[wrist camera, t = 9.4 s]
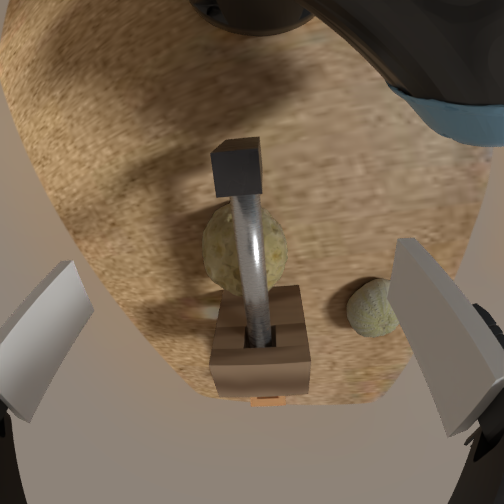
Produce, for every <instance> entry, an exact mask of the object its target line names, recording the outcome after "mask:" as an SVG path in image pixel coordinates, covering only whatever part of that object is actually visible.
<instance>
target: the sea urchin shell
mask: <svg viewBox="0 0 504 504" xmlns="http://www.w3.org/2000/svg"><path fill="white" fill-rule="evenodd" d="M389 285H390V280H385V279H375V280H372V281H371V282H369V283H367V284H365V285H364V286H363V287H361V288H360V289H358V290H357V291H355V293H354V294H353V295H352V297H351V298H350V299H349V300H348V303H347V306H346V307H347V318H348V320H349V322H350V324H351V326H352V328H353V329H354V330H355V331H356V332H357V333H358V334H360V335H362V336H364V337H373V338H374V337H378V336H382V335H385V334H387V333H390V332H392V331H393V330H395V328H396V327H397V325H399V324H400V323H399V321H398V319H397V317H396V315H395V313H394V311H393V309H392V307H391V305H390V304H389V302H388V300H387V295H388V290H389Z"/></svg>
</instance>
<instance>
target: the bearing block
mask: <svg viewBox="0 0 504 504" xmlns="http://www.w3.org/2000/svg"><path fill="white" fill-rule="evenodd" d="M268 298H269V311H270V325H271V338H272V347H266V348H250V342H249V335H248V328H247V322H246V315H245V308H244V301H243V296H241V297H240V296H236V295H234V294H232V293H231V292H229V291H227V290H223V294H222V299H221V304H220V309H219V315H218V320H217V325H216V330H215V335H214V341H213V346H212V351H211V356H210V362H209V367H210V371H211V374H212V377H213V380H214V383H215V386H216V389H217V392H218V395H219V397H272V396H290V395H303V394H308V391H309V380H310V369H311V357H310V351H309V344H308V337H307V331H306V325H305V318H304V312H303V306H302V300H301V294H300V288H299V285H296V286H281V287H272V288H271V289H270V290H269V291H268Z"/></svg>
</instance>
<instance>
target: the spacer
mask: <svg viewBox="0 0 504 504" xmlns="http://www.w3.org/2000/svg"><path fill="white" fill-rule="evenodd" d="M250 399H251V407H253V406H282V405H286V400H285V396H272V397H250Z"/></svg>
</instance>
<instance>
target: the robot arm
mask: <svg viewBox="0 0 504 504" xmlns="http://www.w3.org/2000/svg"><path fill="white" fill-rule="evenodd" d="M189 1H190V3H191V4H192V6H193V7H194V8H195V10H196V11H197V12H198V13H199V15H200V16H201V17H203V18H204V19H205V20H206V21H208V22H209V23H211V24H212V25H214V26H216V27H218V28H221V29H223V30H226V31H229V32H232V33H236V34H242V35H250V36H266V35H274V34H280V33H284V32H287V31H291V30H293V29H296V28H298V27H300V26H302V25H304V24H305V23H307V22H308V21H310V20H311V19H312V18H313V17H315V16H316V17H317V18H319V19H320V20H321V21H323V22H324V23H325V24H326V25H328V26H329V27H330V28H331V29H333V30H334V31H335V32H336V33H337V34H339V35H340V36H341V37H342V38H343V39H344V40H346V41H347V42H348V43H349V44H350V45H351V46H352V47H353V48H354V49H355V50H356V51H358V52H359V53H360V54H361V55H362V56H363V57H364V58H365V59H366V60H367V61H368V62H369V63H370V64H371V65H372V66H373V67H374V68H375V69H376V70H377V71H378V73H379V74H380V75H381V76H382V77H383V78H384V79H385V81H386V83H387V84H388V86H389V88H390V89H391V90H392V91H393V92H394V93H395V94H397V95H398V96H400V97H401V98H403V99H404V100H405V101H406V102H407V103H408V104H409V105H410V106H411V107H412V108H413V109H414V111H415V112H416V113H417V114H418V115H419V116H420V118H421V119H422V120H423V121H424V122H425V123H426V124H427V125H428V126H429V127H430V128H431V129H432V130H434V131H435V132H437V133H438V134H440V135H441V136H444V137H447V138H452V139H453V140H455V141H457V142H459V143H462V144H467V145H472V146H481V147H502V146H504V0H189ZM387 300H388V302H389V304H390V305H391V307H392V309H393V311H394V313H395V315H396V317H397V319H398V321H399V323H400V325H401V327H402V329H403V331H404V333H405V335H406V337H407V340H408V342H409V344H410V346H411V348H412V350H413V352H414V355H415V357H416V359H417V361H418V363H419V366H420V368H421V370H422V373H423V375H424V377H425V380H426V382H427V384H428V387H429V389H430V391H431V394H432V397H433V399H434V402H435V404H436V407H437V410H438V412H439V415H440V418H441V420H442V423H443V426H444V429H445V432H446V435H447V437H451V436H453V435H456V434H458V433H461V432H463V431H466V430H468V429H469V428H470V427H471V426H472V424H473V423H474V422H475V421H476V420H477V419H478V421H479V424H480V427H479V428H478V429H477V430H476V431H475V432H474V433H473V434H472V435H471V436H470V437H469V438H468V439H467V440H466V442H465V443H464V445H468V444H469V443H470V442H471V441H472V440H473V439H474V440H473V443H472V445H471V446H470V447H471V449H470V452H469V455H468V458H467V460H466V463H465V466H464V468H463V471H462V473H461V476H460V478H459V480H458V483H457V485H456V487H455V490H454V492H453V494H452V496H451V498H450V500H449V502H448V504H504V335H503V332H502V330H501V329H500V327H499V326H497V325H496V322H495V321H494V319H493V318H492V317H491V315H490V314H489V313H488V312H487V311H486V310H485V309H483V308H482V307H481V306H479V305H478V304H471V303H470V302H469V300H468V299H467V298H466V296H465V295H464V294H463V293H462V291H461V290H460V289H459V288H458V286H457V285H456V284H455V283H454V281H453V280H452V279H451V278H450V277H449V276H448V274H447V273H446V272H445V271H444V270H443V268H442V267H441V266H440V265H439V264H438V263H437V262H436V261H435V259H434V258H433V257H432V256H431V255H430V254H429V253H428V252H427V251H426V249H425V248H424V247H423V246H422V245H421V244H420V243H419V242H418V241H417V240H416V239H415V238H400V239H397V245H396V251H395V258H394V264H393V269H392V275H391V280H390V285H389V290H388V295H387ZM93 312H94V309H93V307H92V304H91V302H90V300H89V298H88V295H87V293H86V291H85V289H84V287H83V284H82V282H81V279H80V277H79V275H78V272H77V269H76V267H75V264H74V262H73V260H69V261H61V262H60V263H59V264H58V265H57V266H56V267H55V268H54V269H53V270H52V271H51V272H50V273H49V274H48V275H47V276H46V277H45V278H44V279H43V280H42V281H41V282H40V283H39V284H38V285H37V287H36V288H35V289H34V290H33V291H32V292H31V293H30V294H29V295H28V296H27V298H26V299H25V300H24V301H23V302H22V303H21V304H20V305H19V307H18V308H17V309H16V310H15V311H14V312H13V314H12V315H11V316H10V317H9V318H8V320H7V321H6V322H5V323H4V325H3V326H2V327H1V328H0V504H27V502H26V498H25V494H24V491H23V487H22V483H21V479H20V475H19V469H18V464H17V459H16V453H15V448H14V440H13V432H12V423H11V417H10V415H9V414H8V413H7V412H6V411H7V409H8V408H9V409H10V410H11V411H12V412H13V413H14V414H15V415H16V416H17V417H18V418H20V419H22V420H24V421H26V422H28V423H30V422H31V419H32V417H33V415H34V413H35V411H36V409H37V407H38V405H39V403H40V401H41V400H42V397H43V396H44V394H45V392H46V390H47V388H48V386H49V384H50V383H51V381H52V379H53V377H54V375H55V374H56V372H57V370H58V368H59V367H60V365H61V363H62V361H63V360H64V358H65V356H66V355H67V353H68V351H69V350H70V348H71V346H72V344H73V343H74V342H75V340H76V338H77V337H78V335H79V333H80V332H81V330H82V329H83V327H84V325H85V324H86V323H87V321H88V319H89V318H90V316H91V315H92V313H93Z"/></svg>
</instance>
